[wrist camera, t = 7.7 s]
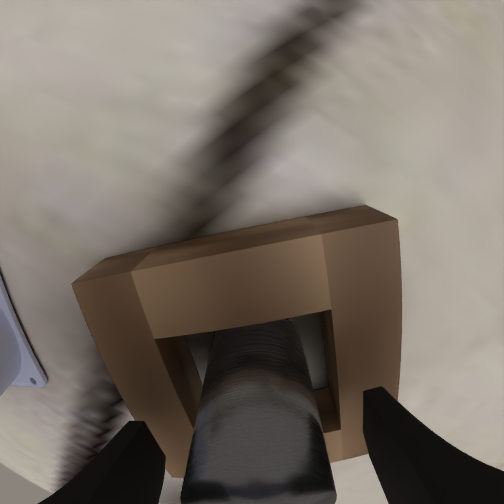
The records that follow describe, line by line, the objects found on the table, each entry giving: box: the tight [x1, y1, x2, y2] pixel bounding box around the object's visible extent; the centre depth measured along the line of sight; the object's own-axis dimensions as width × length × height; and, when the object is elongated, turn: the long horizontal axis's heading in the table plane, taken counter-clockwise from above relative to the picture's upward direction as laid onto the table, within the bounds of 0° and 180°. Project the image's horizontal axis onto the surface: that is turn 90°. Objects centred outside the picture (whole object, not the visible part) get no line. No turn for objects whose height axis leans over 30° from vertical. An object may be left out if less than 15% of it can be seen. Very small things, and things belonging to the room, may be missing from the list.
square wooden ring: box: [72, 205, 402, 478], centre depth 12 cm, size 11×11×3 cm
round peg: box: [180, 318, 337, 504], centre depth 10 cm, size 4×4×8 cm
